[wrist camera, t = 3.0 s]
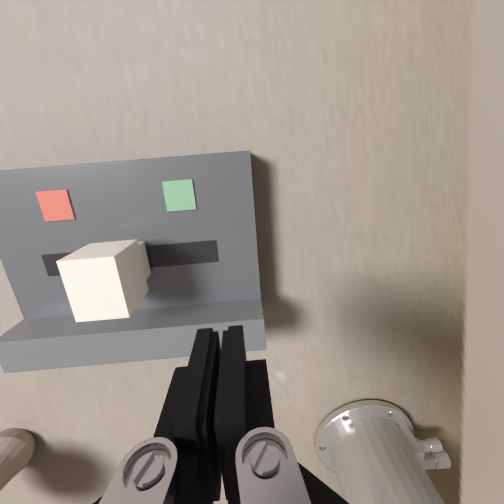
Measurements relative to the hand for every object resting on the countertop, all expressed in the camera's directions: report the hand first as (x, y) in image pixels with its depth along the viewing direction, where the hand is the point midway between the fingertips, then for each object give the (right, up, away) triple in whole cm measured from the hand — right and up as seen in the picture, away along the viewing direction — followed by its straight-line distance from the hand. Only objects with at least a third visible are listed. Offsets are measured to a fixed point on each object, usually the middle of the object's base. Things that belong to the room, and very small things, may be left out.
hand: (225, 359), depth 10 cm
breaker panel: (-10, +4, +16) cm, 19 cm away
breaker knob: (-9, +3, +13) cm, 16 cm away
